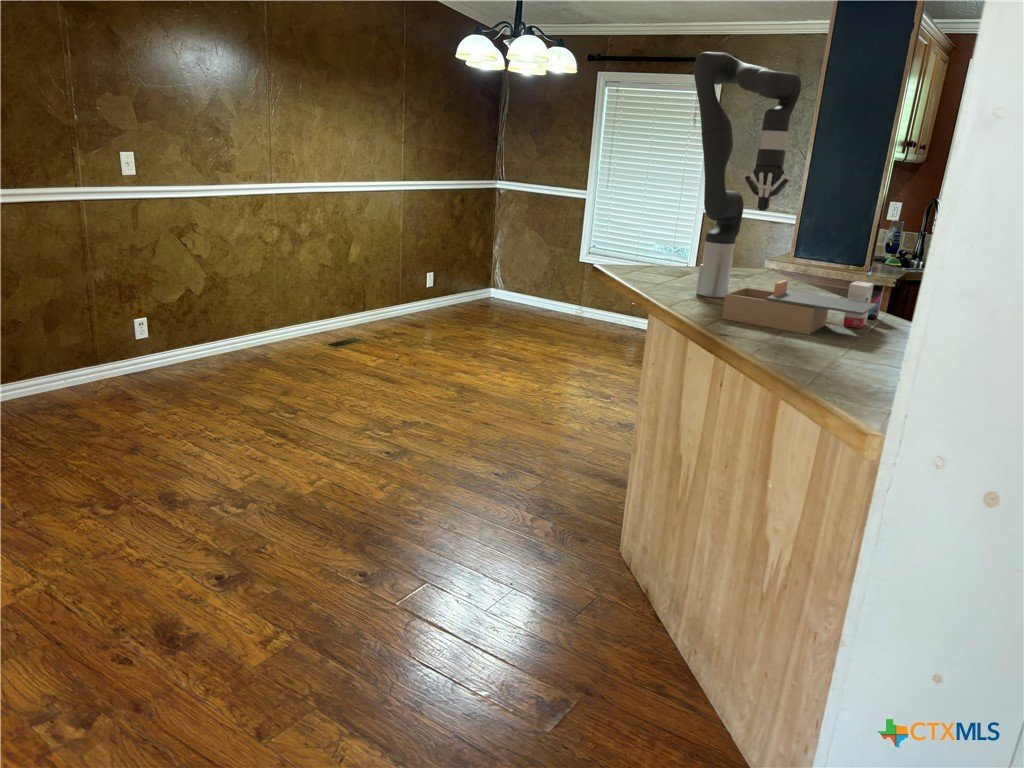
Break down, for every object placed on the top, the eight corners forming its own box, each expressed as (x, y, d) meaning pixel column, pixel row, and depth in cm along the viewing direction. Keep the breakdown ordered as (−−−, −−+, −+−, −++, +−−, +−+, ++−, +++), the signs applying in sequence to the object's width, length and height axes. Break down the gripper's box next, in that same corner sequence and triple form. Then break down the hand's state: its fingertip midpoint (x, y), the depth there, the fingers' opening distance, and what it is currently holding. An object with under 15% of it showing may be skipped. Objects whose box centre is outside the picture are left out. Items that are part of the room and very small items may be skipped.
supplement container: (854, 318, 216) (861, 283, 213) (851, 314, 222) (857, 280, 219) (879, 321, 214) (887, 285, 211) (875, 316, 220) (882, 282, 217)
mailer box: (721, 318, 206) (725, 294, 204) (741, 310, 218) (745, 287, 216) (809, 334, 193) (814, 308, 191) (825, 324, 205) (830, 300, 203)
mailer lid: (766, 299, 197) (768, 284, 196) (784, 292, 210) (787, 277, 209) (862, 315, 184) (866, 298, 183) (876, 306, 196) (879, 291, 195)
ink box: (860, 329, 202) (868, 286, 199) (841, 325, 205) (849, 284, 202) (867, 324, 209) (875, 283, 206) (848, 321, 212) (856, 280, 208)
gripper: (744, 146, 209) (735, 209, 214) (791, 148, 202) (781, 213, 207) (753, 147, 215) (744, 208, 220) (799, 149, 207) (789, 212, 213)
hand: (762, 210), depth 213 cm, fingers closed
